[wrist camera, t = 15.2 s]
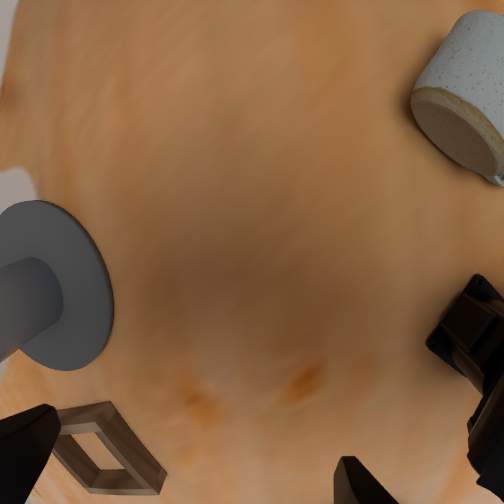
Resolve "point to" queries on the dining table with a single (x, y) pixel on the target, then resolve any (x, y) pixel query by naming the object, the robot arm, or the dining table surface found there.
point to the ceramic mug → (466, 95)
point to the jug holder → (117, 442)
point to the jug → (27, 303)
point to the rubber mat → (62, 281)
